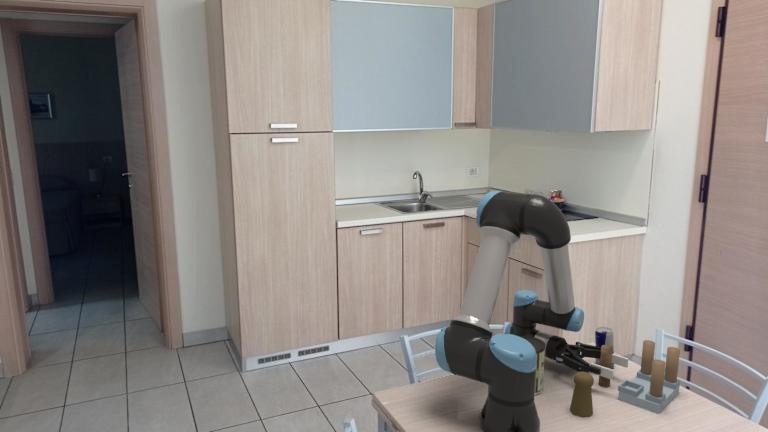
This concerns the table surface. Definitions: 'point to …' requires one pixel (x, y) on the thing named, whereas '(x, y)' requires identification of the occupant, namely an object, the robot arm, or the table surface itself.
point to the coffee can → (538, 361)
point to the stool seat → (653, 380)
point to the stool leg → (605, 363)
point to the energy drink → (604, 339)
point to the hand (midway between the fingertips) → (620, 368)
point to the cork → (582, 395)
